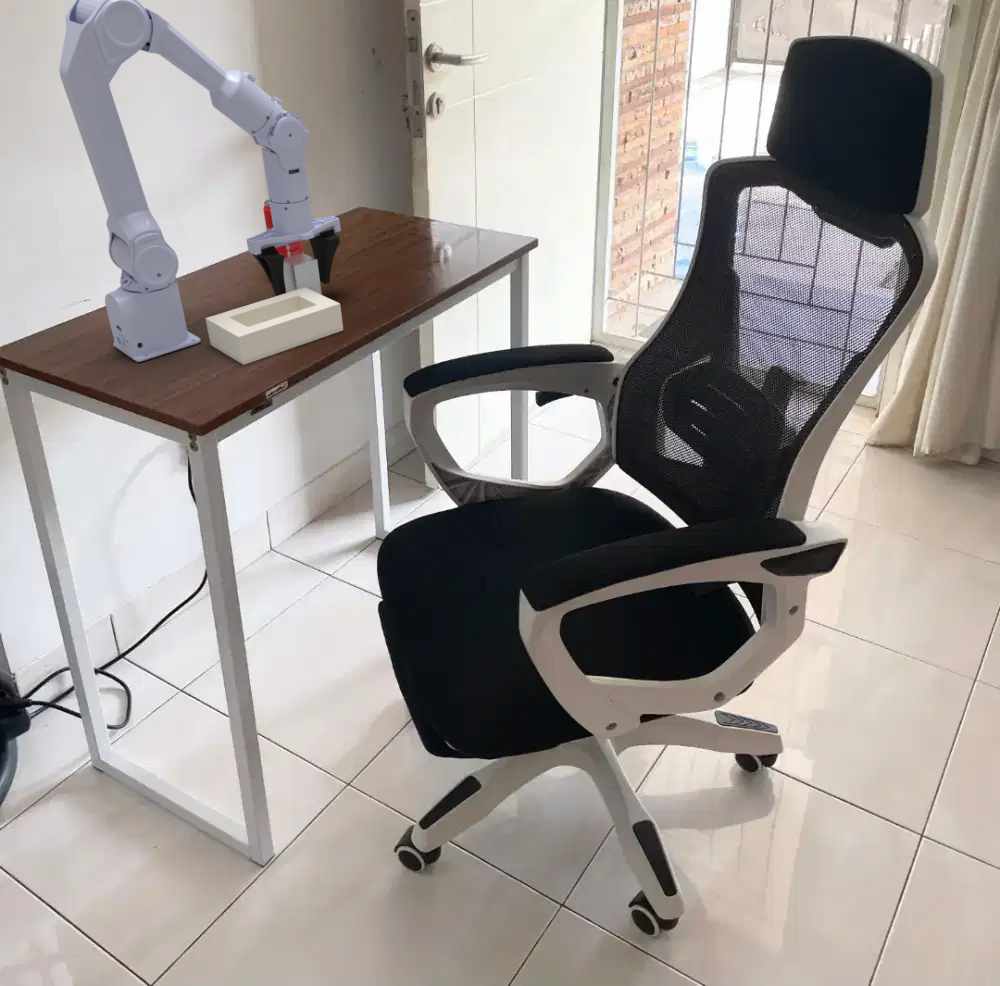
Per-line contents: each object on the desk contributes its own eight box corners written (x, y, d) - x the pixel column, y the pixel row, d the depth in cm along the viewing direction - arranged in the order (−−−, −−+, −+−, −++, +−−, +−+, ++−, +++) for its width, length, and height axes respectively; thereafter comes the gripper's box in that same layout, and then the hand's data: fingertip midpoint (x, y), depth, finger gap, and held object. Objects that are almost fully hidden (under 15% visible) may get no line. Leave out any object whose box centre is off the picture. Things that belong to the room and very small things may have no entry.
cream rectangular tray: (243, 364, 133) (238, 337, 131) (210, 345, 139) (205, 318, 137) (343, 330, 142) (340, 303, 140) (308, 313, 148) (305, 287, 146)
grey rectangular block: (300, 311, 149) (293, 266, 145) (285, 304, 151) (279, 259, 148) (323, 304, 151) (317, 259, 147) (308, 297, 153) (302, 252, 150)
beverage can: (299, 282, 159) (288, 207, 152) (269, 280, 160) (257, 205, 153) (311, 271, 163) (301, 197, 157) (281, 269, 164) (270, 196, 158)
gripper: (259, 215, 136) (274, 309, 143) (347, 192, 144) (357, 282, 151) (233, 204, 140) (249, 296, 148) (320, 183, 148) (331, 271, 156)
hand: (302, 288), depth 150 cm, fingers open, 7 cm apart
